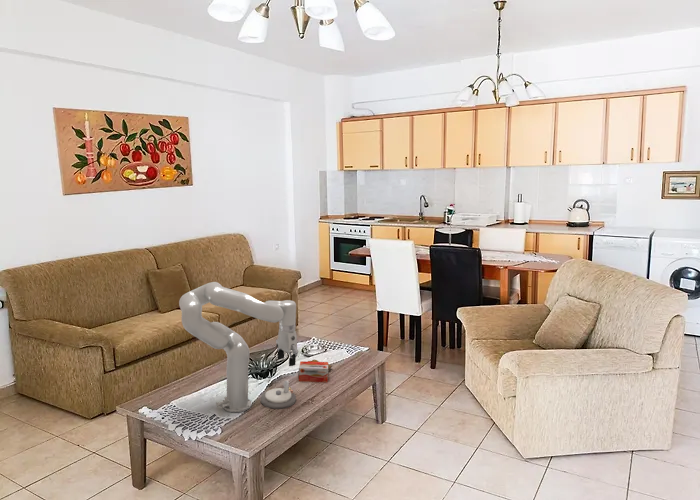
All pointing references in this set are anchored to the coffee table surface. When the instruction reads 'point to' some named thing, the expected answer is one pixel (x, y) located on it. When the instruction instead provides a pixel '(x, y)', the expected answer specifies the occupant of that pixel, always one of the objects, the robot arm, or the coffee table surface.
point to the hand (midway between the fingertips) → (286, 362)
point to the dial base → (278, 405)
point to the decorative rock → (318, 361)
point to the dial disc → (279, 394)
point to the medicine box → (313, 372)
